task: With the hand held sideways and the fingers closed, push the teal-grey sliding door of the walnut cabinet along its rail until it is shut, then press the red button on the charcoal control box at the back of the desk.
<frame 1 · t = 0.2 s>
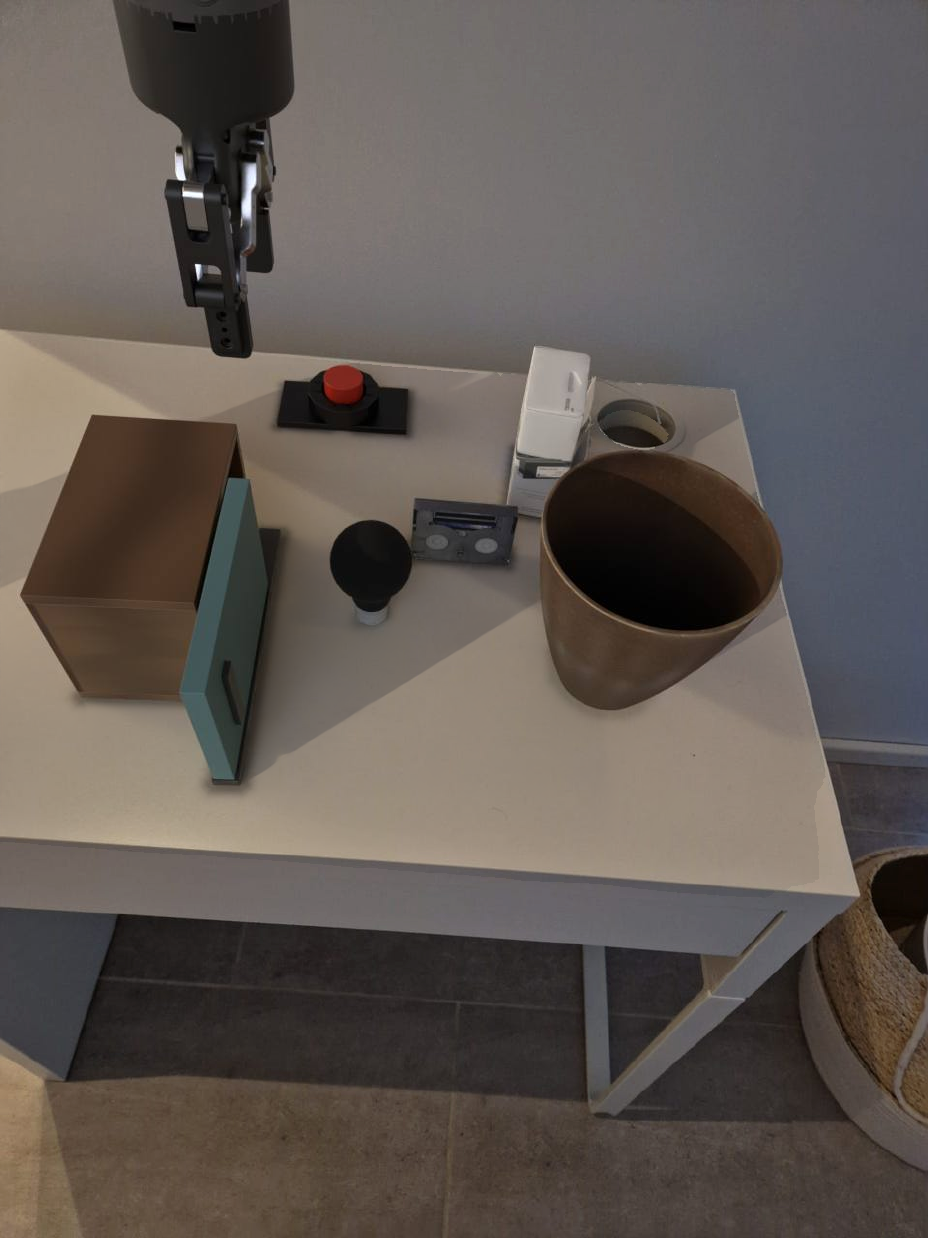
hand: (245, 309, 47), 22 cm above the table, tool pointing down, fingers open, 8 cm apart
button box: (344, 410, 76), on the table
ink box: (534, 485, 73), on the table
cabinet: (176, 610, 61), on the table
door: (234, 628, 53), point 7 cm above the table, slide at -6.0 cm
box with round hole: (614, 460, 76), on the table
plant pot: (601, 672, 62), on the table
mini dv tape: (459, 556, 67), on the table
button: (343, 384, 74), point 3 cm above the table, slide at 0.1 cm
light bulb: (371, 620, 62), on the table
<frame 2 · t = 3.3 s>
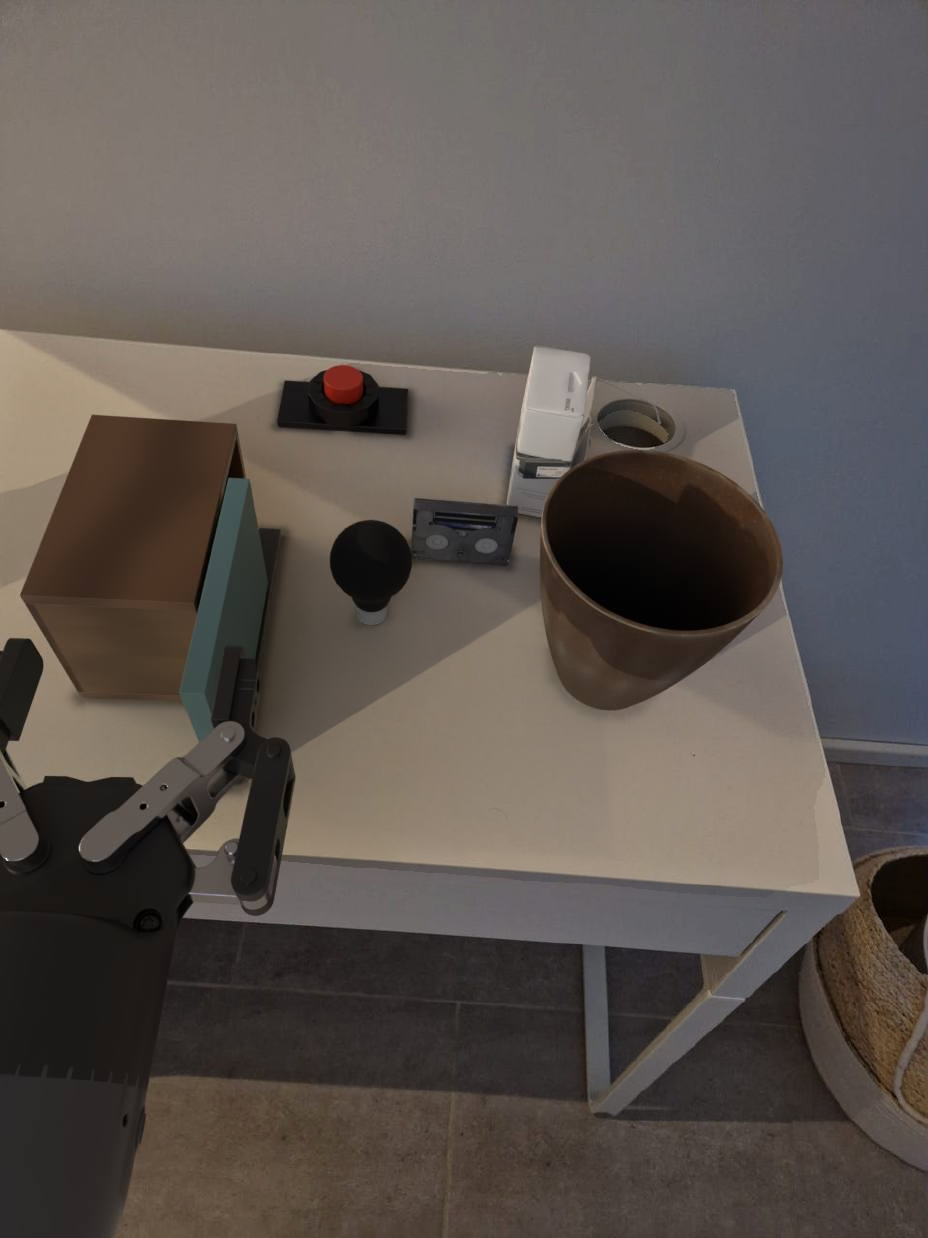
hand: (133, 651, 33), 22 cm above the table, tool horizontal, fingers open, 8 cm apart
nothing on the table moved.
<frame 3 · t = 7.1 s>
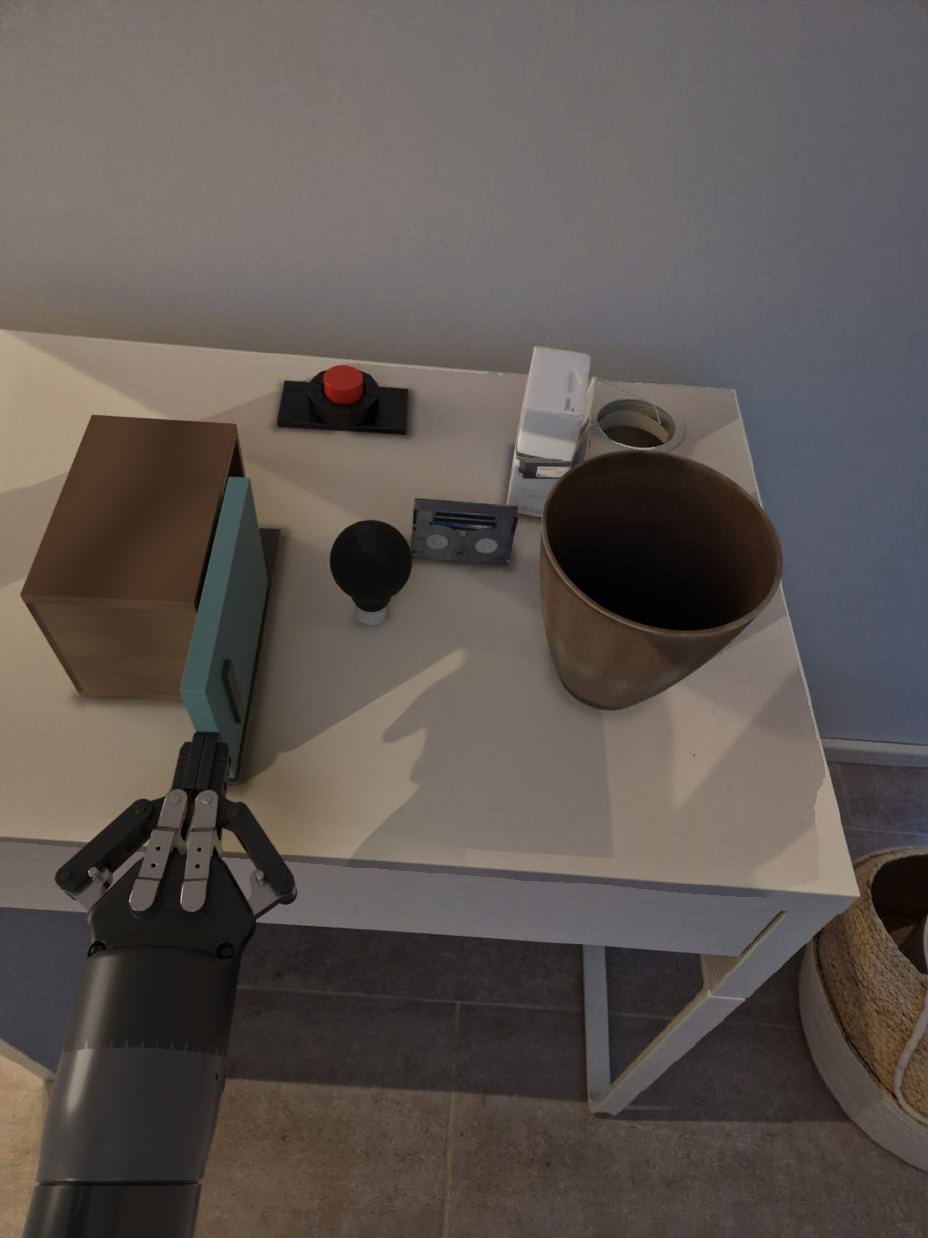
hand: (209, 738, 48), 7 cm above the table, tool horizontal, fingers closed
door: (234, 626, 53), point 7 cm above the table, slide at -5.9 cm, touching gripper
everything else where it was.
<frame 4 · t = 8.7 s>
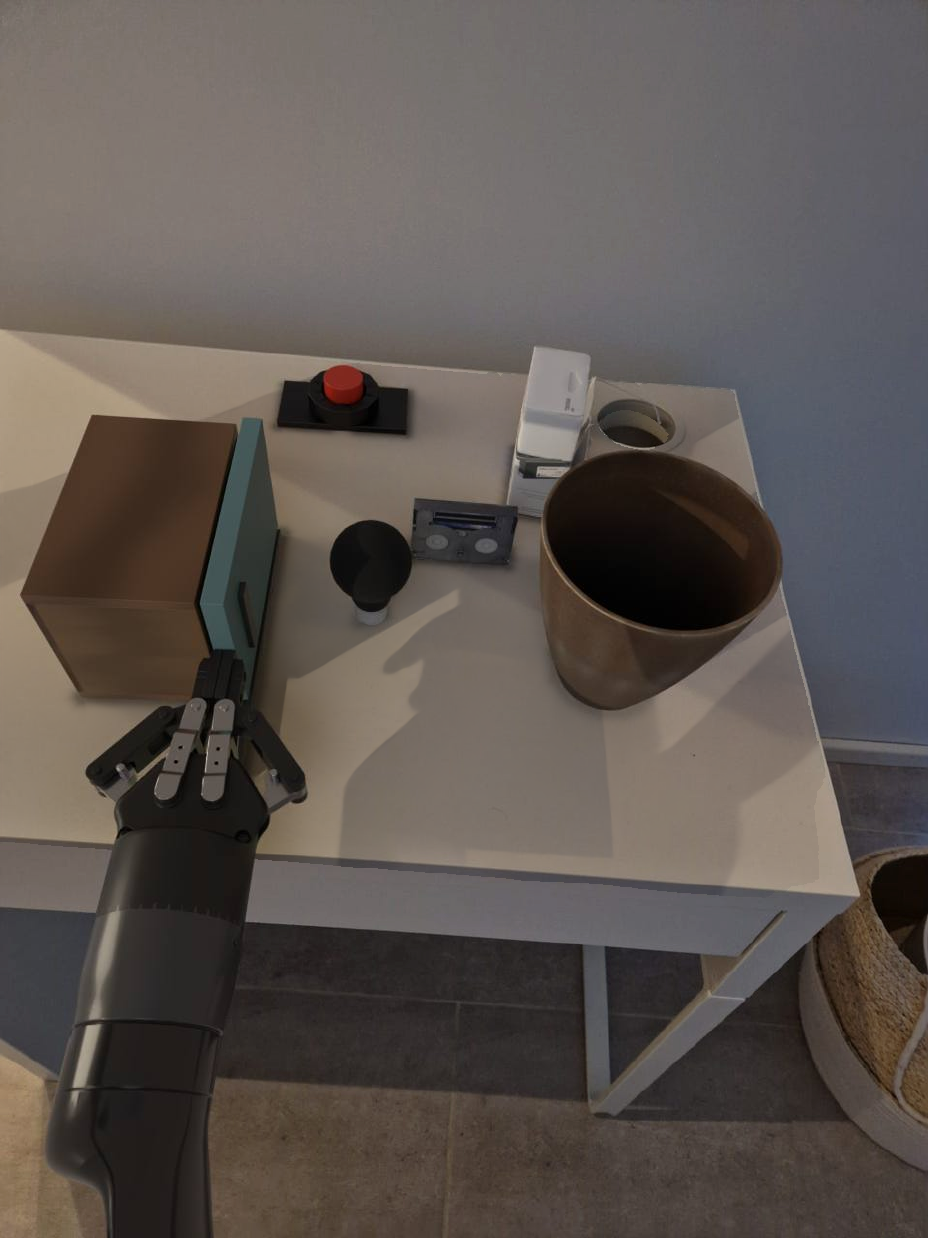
hand: (225, 656, 51), 7 cm above the table, tool horizontal, fingers closed
door: (248, 558, 56), point 7 cm above the table, slide at 0.1 cm, touching gripper
everything else where it was.
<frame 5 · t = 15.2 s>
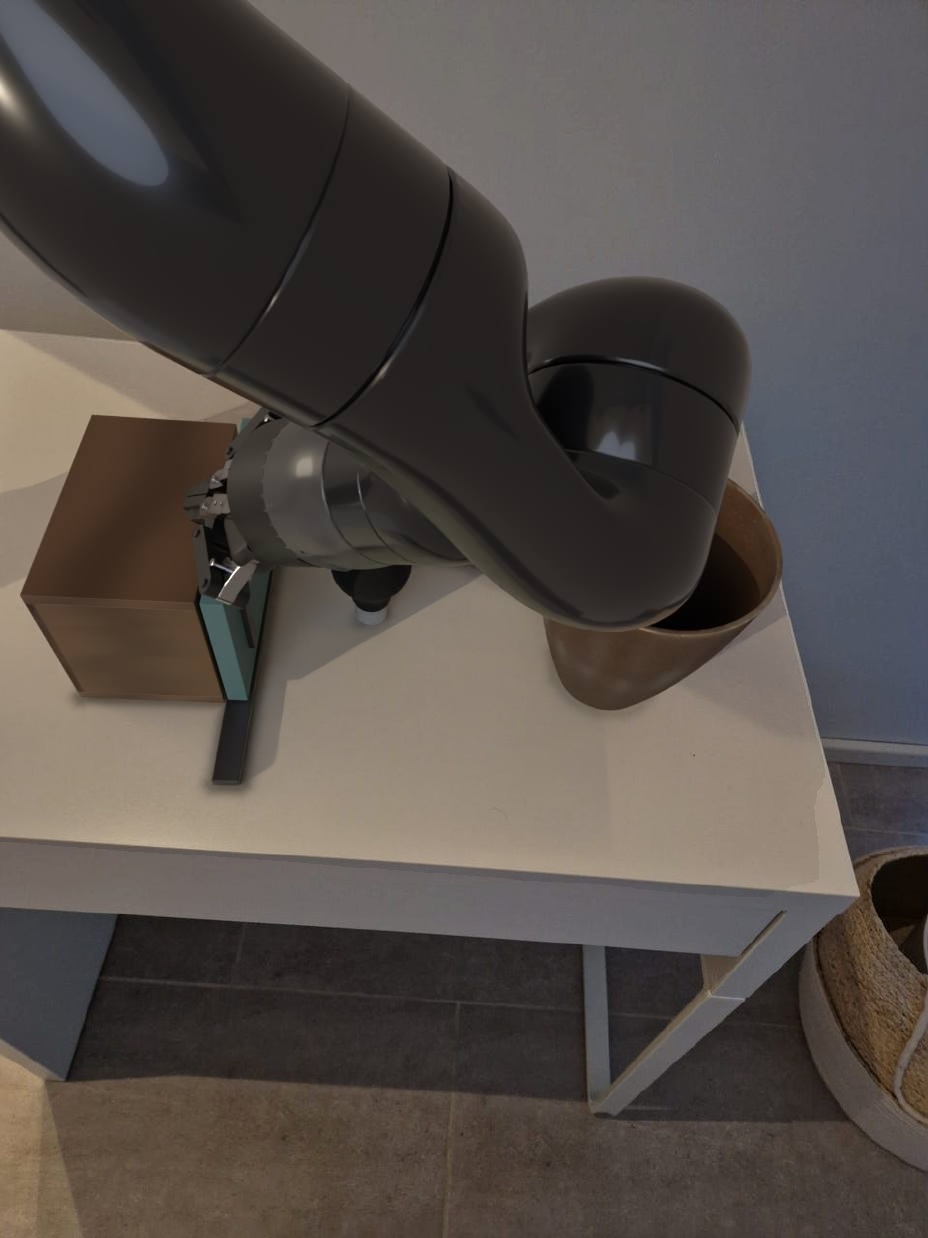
hand: (200, 504, 51), 13 cm above the table, tool tilted 50°, fingers closed
door: (248, 558, 56), point 7 cm above the table, slide at 0.0 cm
everything else where it was.
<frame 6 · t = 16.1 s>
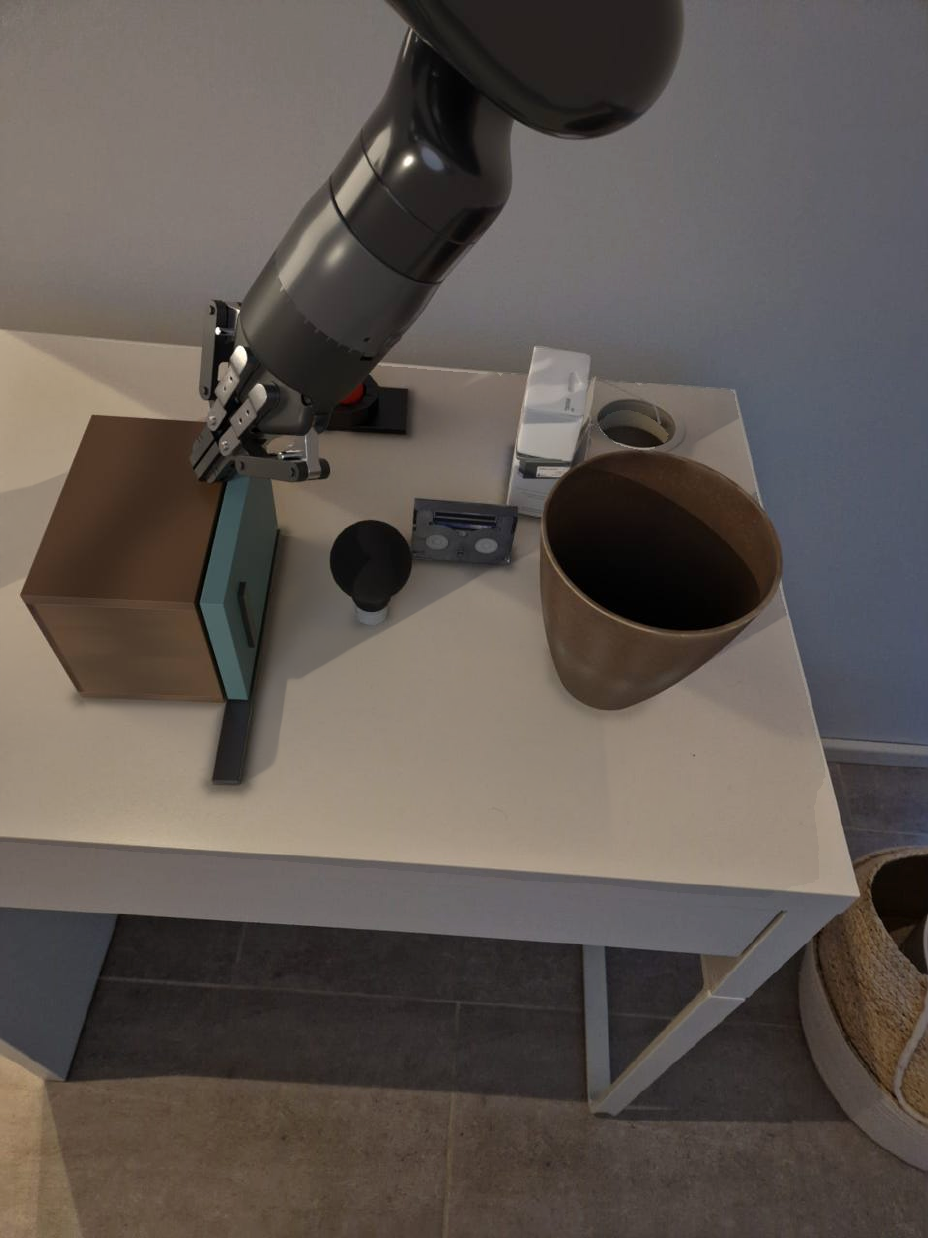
hand: (206, 470, 53), 13 cm above the table, tool tilted 35°, fingers closed
door: (248, 558, 56), point 7 cm above the table, slide at 0.1 cm, touching gripper
everything else where it was.
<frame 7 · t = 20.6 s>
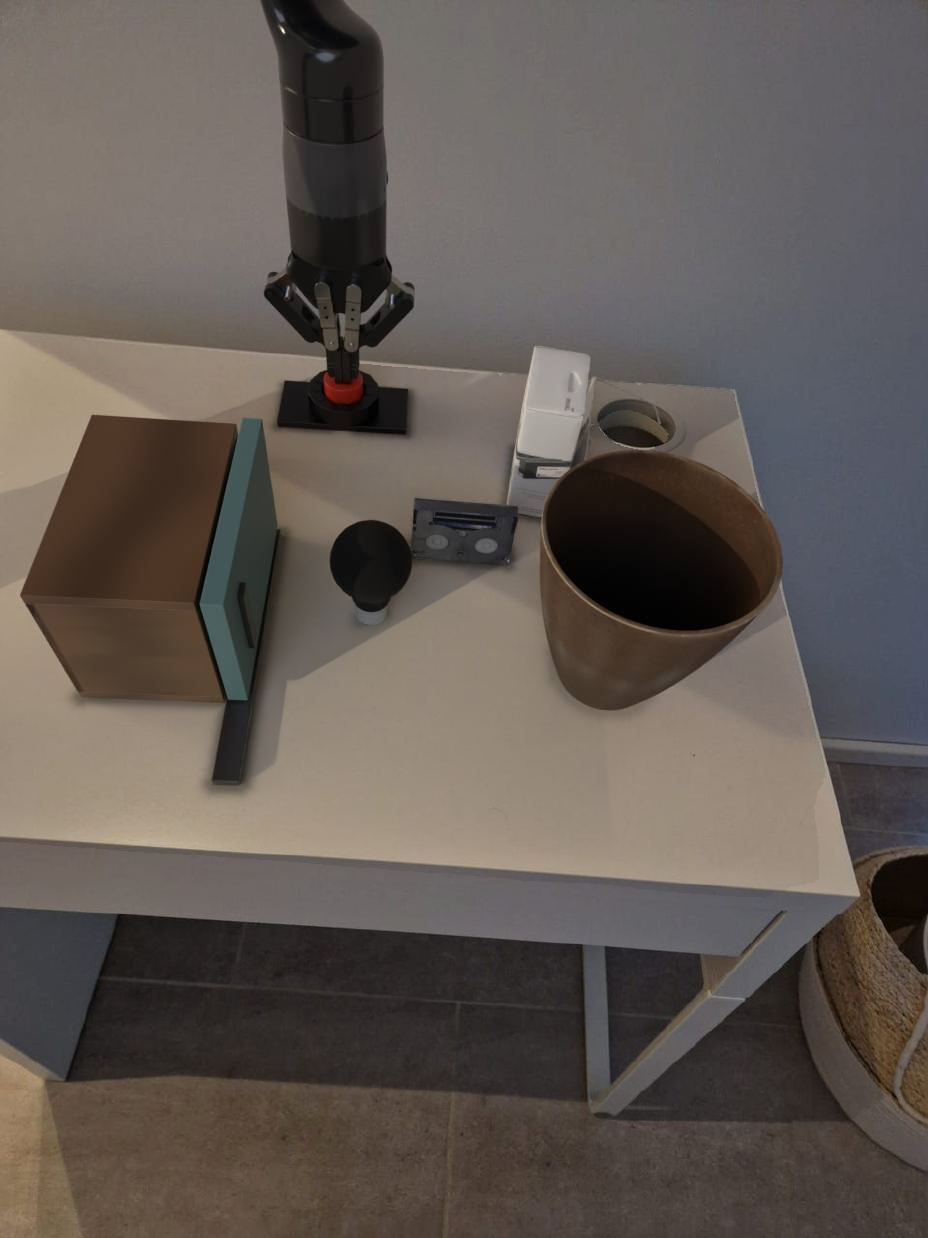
hand: (344, 378, 73), 4 cm above the table, tool pointing down, fingers closed
door: (248, 558, 56), point 7 cm above the table, slide at 0.0 cm
button: (343, 385, 74), point 3 cm above the table, slide at 0.0 cm, touching gripper
everything else where it was.
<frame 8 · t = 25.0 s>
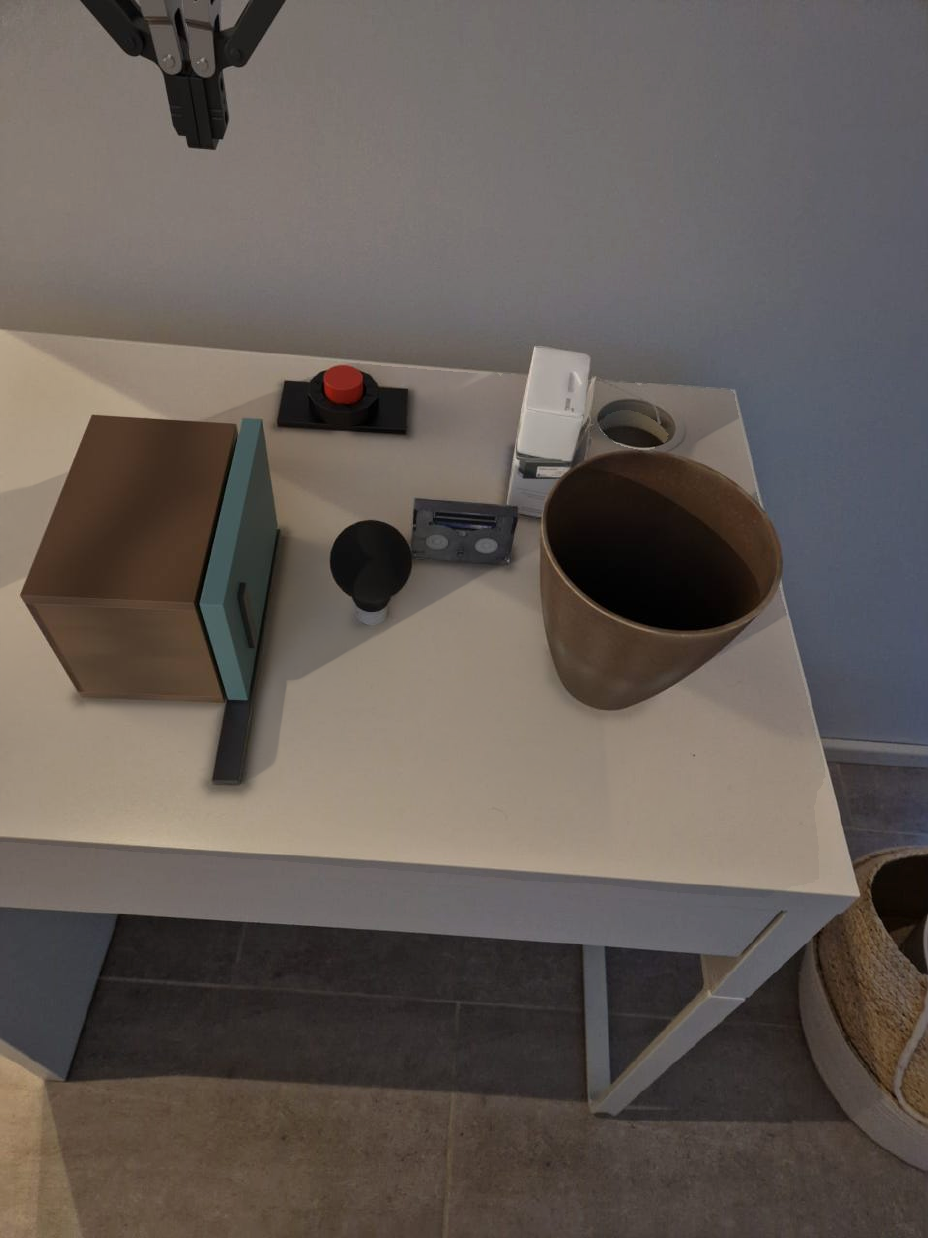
hand: (205, 142, 45), 29 cm above the table, tool pointing down, fingers closed
button: (343, 384, 74), point 3 cm above the table, slide at 0.1 cm
everything else where it was.
at the end: door 0.5 cm off-centre on the cabinet, point 6.7 cm above the cabinet's base; button pushed in 1.0 cm at the most during the clip, back to where it started at the end; button slide at 0.1 cm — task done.
